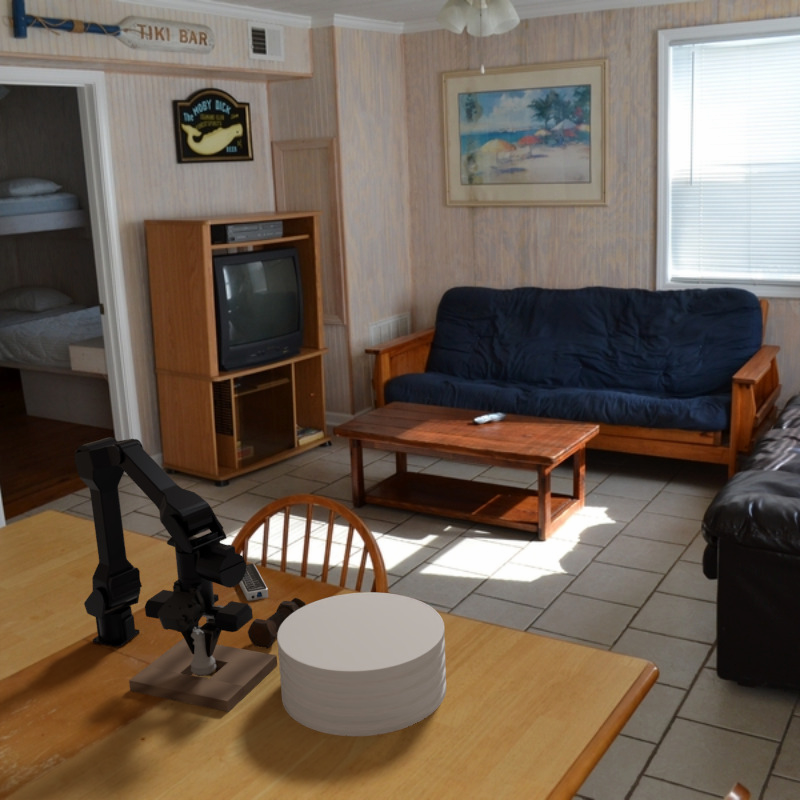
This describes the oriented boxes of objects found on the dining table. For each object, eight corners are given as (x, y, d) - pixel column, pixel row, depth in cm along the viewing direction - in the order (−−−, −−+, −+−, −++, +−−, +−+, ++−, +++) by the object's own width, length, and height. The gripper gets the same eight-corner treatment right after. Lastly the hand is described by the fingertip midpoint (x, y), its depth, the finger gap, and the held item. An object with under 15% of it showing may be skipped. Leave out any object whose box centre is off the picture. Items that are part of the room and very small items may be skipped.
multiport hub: (254, 572, 217) (253, 563, 217) (268, 599, 204) (268, 588, 204) (234, 576, 216) (233, 566, 215) (247, 602, 203) (247, 592, 202)
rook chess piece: (192, 665, 175) (188, 623, 173) (217, 662, 175) (213, 622, 173) (189, 677, 171) (185, 635, 169) (215, 675, 171) (211, 633, 169)
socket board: (130, 690, 170) (129, 680, 170) (184, 647, 184) (183, 638, 184) (228, 712, 162) (227, 701, 162) (277, 665, 176) (276, 655, 176)
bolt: (303, 622, 197) (264, 655, 183) (284, 607, 198) (243, 638, 185) (315, 600, 194) (276, 632, 181) (295, 585, 196) (255, 616, 182)
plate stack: (465, 660, 176) (463, 601, 173) (416, 749, 150) (414, 682, 148) (321, 641, 185) (317, 585, 182) (252, 722, 159) (247, 658, 157)
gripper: (120, 584, 165) (129, 667, 169) (214, 600, 158) (222, 687, 161) (160, 558, 175) (168, 638, 179) (250, 572, 167) (257, 655, 171)
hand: (202, 654), depth 172 cm, fingers closed on rook chess piece, 3 cm apart
